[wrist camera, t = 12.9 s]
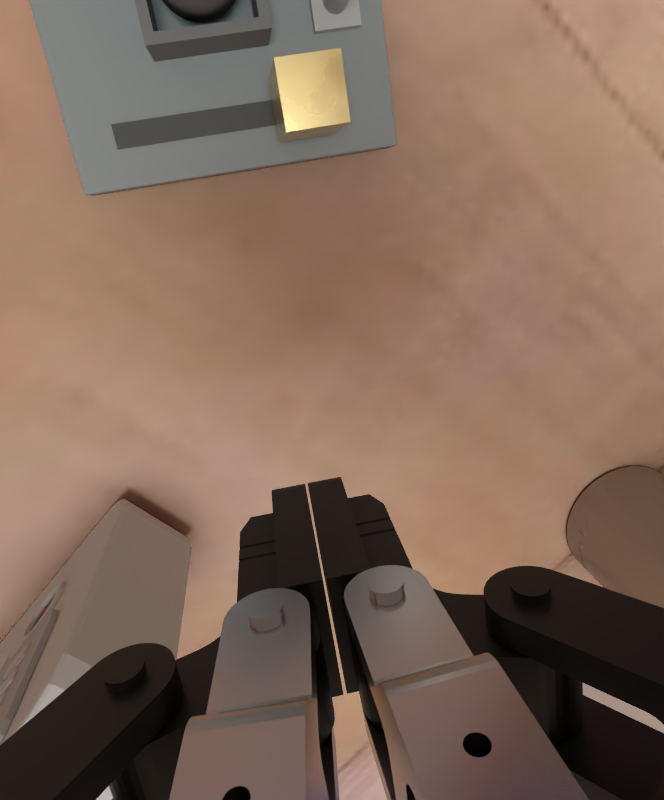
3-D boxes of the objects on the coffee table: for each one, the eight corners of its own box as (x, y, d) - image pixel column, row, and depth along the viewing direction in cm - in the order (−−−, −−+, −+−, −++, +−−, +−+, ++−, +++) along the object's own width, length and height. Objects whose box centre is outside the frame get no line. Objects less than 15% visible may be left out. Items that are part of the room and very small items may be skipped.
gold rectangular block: (325, 71, 30) (340, 48, 26) (333, 134, 31) (350, 121, 27) (268, 80, 30) (273, 57, 25) (279, 142, 31) (286, 132, 26)
